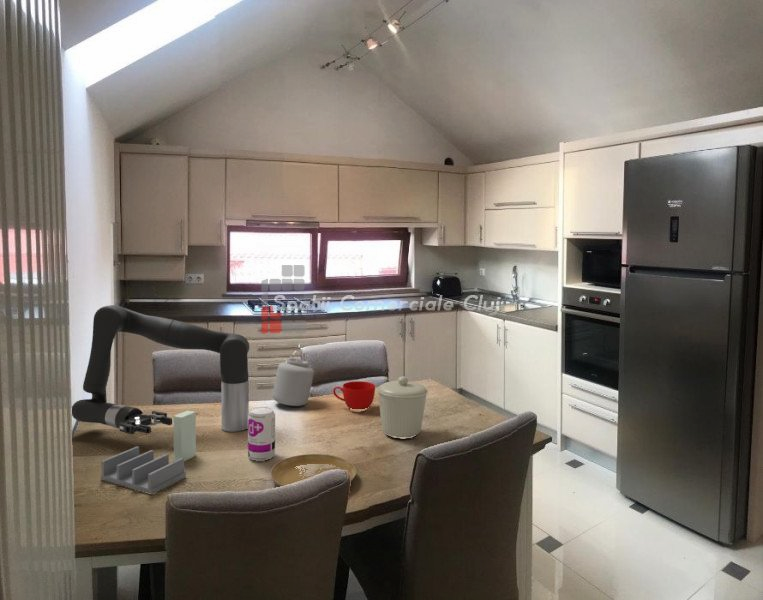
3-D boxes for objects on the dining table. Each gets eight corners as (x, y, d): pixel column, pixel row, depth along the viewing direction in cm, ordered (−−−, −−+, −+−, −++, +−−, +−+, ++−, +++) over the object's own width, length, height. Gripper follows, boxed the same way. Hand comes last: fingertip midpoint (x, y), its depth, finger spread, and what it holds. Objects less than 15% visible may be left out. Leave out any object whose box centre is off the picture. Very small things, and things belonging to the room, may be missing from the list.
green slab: (174, 460, 163) (173, 416, 161) (188, 453, 168) (188, 410, 167) (181, 462, 162) (181, 417, 160) (195, 455, 167) (195, 411, 165)
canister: (437, 435, 191) (439, 377, 188) (403, 448, 178) (406, 386, 175) (398, 422, 203) (400, 367, 201) (365, 433, 190) (366, 375, 187)
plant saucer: (316, 456, 170) (317, 446, 169) (373, 481, 154) (373, 470, 154) (252, 481, 152) (252, 469, 151) (309, 511, 136) (309, 499, 136)
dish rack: (100, 479, 149) (100, 460, 148) (136, 463, 160) (135, 445, 159) (152, 495, 141) (151, 475, 141) (185, 477, 152) (185, 458, 152)
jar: (306, 396, 232) (307, 339, 229) (324, 405, 220) (325, 345, 217) (266, 402, 221) (266, 343, 218) (281, 413, 209) (282, 350, 206)
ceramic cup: (336, 403, 224) (337, 379, 222) (376, 405, 221) (377, 382, 220) (329, 412, 211) (329, 388, 210) (371, 416, 209) (372, 391, 207)
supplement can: (261, 464, 162) (262, 416, 160) (242, 458, 166) (242, 411, 164) (280, 455, 169) (280, 409, 167) (261, 449, 173) (261, 404, 171)
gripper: (104, 412, 168) (142, 421, 161) (141, 400, 181) (178, 408, 174) (105, 435, 169) (142, 445, 162) (142, 422, 181) (178, 430, 175)
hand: (161, 426), depth 168 cm, fingers open, 8 cm apart
